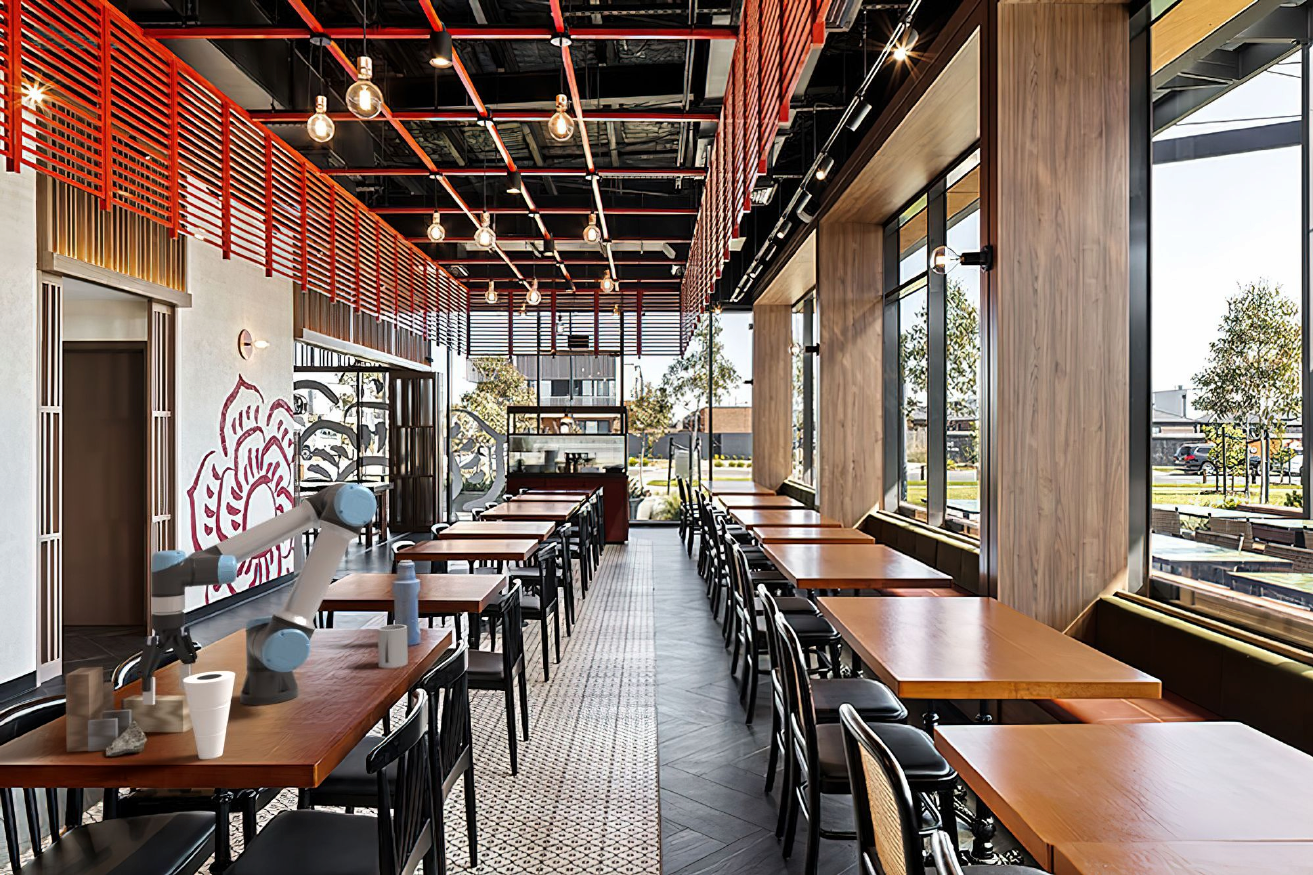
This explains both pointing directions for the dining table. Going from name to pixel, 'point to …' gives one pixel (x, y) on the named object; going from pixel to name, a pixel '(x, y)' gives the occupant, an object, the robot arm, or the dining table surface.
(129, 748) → the rock sample
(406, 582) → the bottle
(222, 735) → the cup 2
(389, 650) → the cup
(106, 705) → the post
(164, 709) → the rail
